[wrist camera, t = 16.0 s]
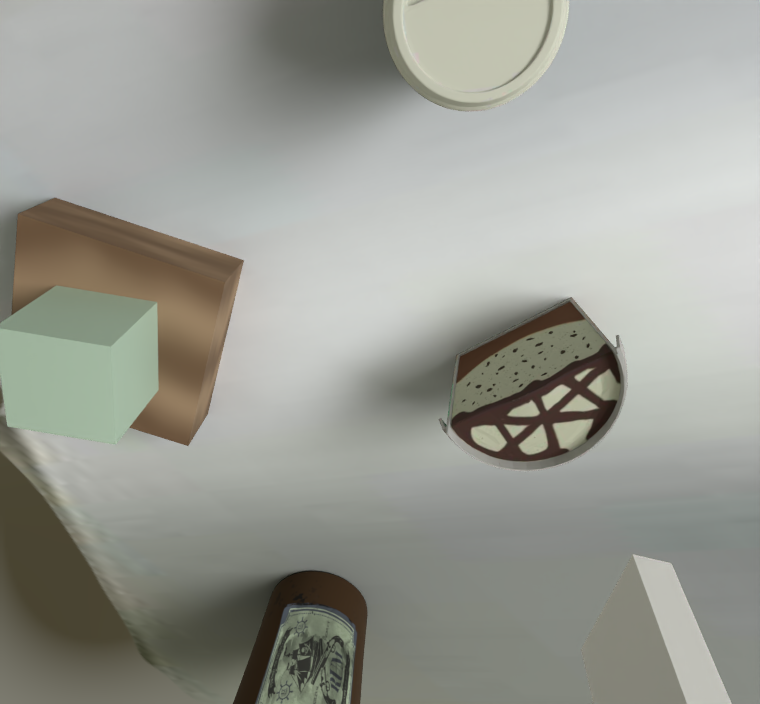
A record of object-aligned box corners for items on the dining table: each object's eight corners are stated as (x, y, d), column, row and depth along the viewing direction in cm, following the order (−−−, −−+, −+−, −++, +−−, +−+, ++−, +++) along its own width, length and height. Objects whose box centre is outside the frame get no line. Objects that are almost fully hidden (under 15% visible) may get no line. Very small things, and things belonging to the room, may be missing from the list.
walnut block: (58, 196, 47) (17, 213, 42) (245, 258, 48) (224, 282, 43) (43, 358, 53) (6, 389, 49) (209, 411, 54) (188, 445, 50)
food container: (477, 423, 52) (485, 505, 43) (439, 363, 50) (438, 436, 41) (626, 355, 48) (668, 429, 39) (591, 287, 46) (627, 349, 37)
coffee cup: (549, -65, 37) (593, -103, 26) (528, 96, 41) (560, 120, 30) (399, -70, 38) (382, -108, 27) (393, 90, 41) (376, 111, 31)
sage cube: (56, 285, 44) (-7, 327, 38) (157, 302, 44) (110, 346, 38) (64, 374, 48) (7, 426, 41) (158, 390, 47) (115, 444, 41)
